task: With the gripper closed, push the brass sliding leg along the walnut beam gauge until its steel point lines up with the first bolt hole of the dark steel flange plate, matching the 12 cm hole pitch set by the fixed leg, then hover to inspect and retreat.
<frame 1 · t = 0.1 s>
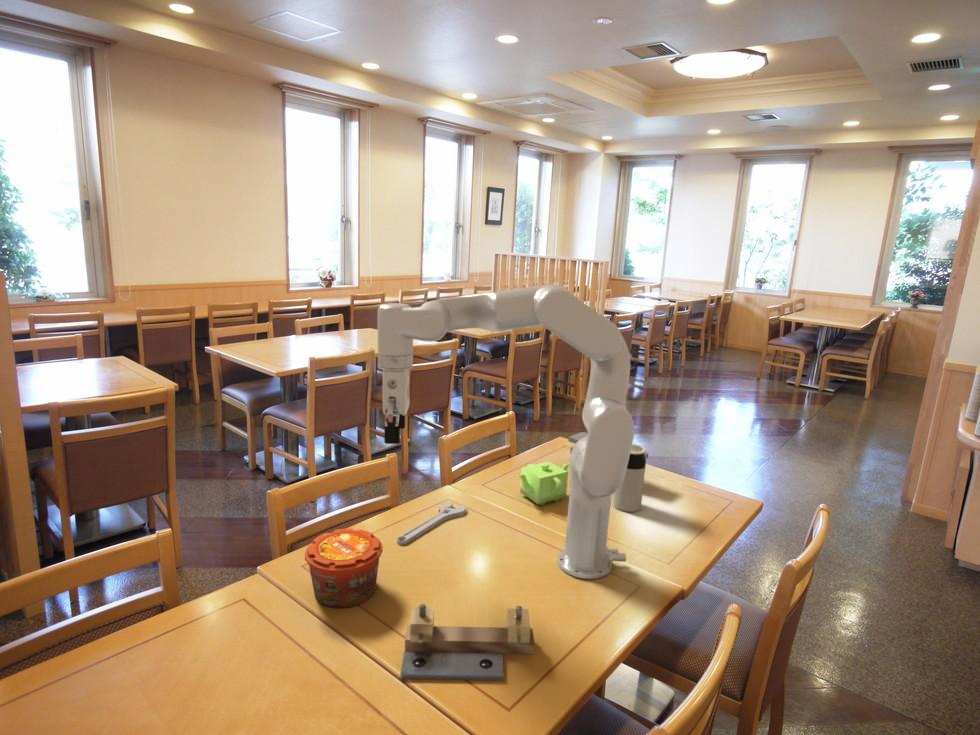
hand: (395, 435, 132), 31 cm above the table, tool pointing down, fingers open, 9 cm apart
sliding leg: (518, 624, 110), point 6 cm above the table, slide at -9.0 cm
food container: (345, 591, 127), on the table
teapot: (542, 498, 174), on the table
flange plate: (452, 668, 106), on the table
sharpening stone: (604, 476, 192), on the table
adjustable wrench: (429, 525, 157), on the table
beam gauge: (469, 645, 112), on the table
travel mug: (626, 506, 171), on the table
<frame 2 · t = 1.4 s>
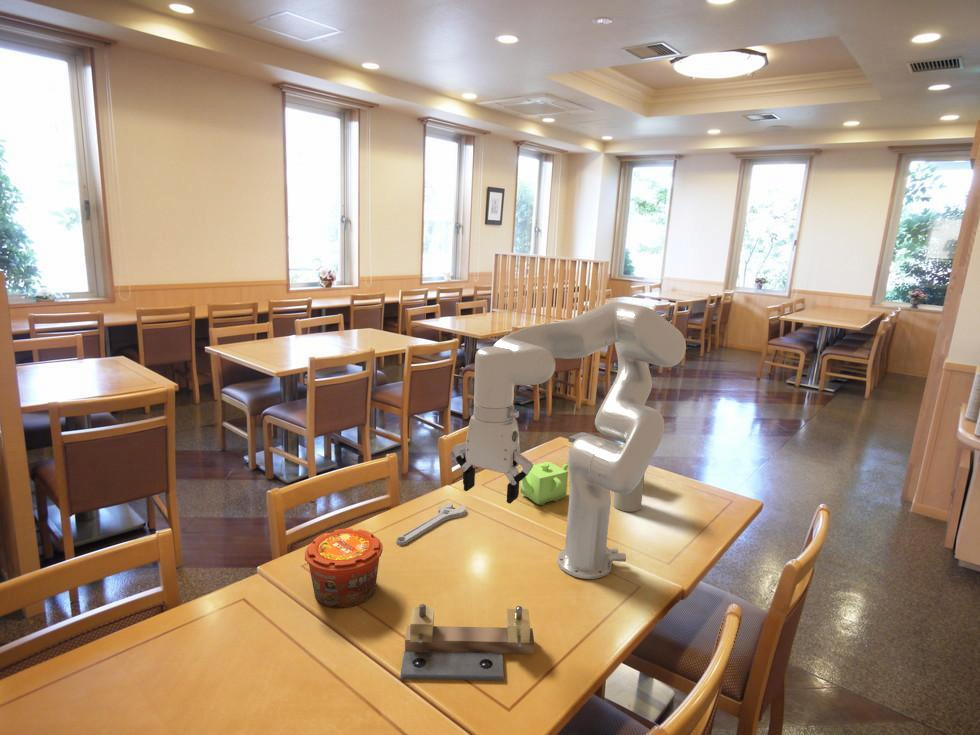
hand: (490, 494, 116), 26 cm above the table, tool pointing down, fingers open, 9 cm apart
nothing on the table moved.
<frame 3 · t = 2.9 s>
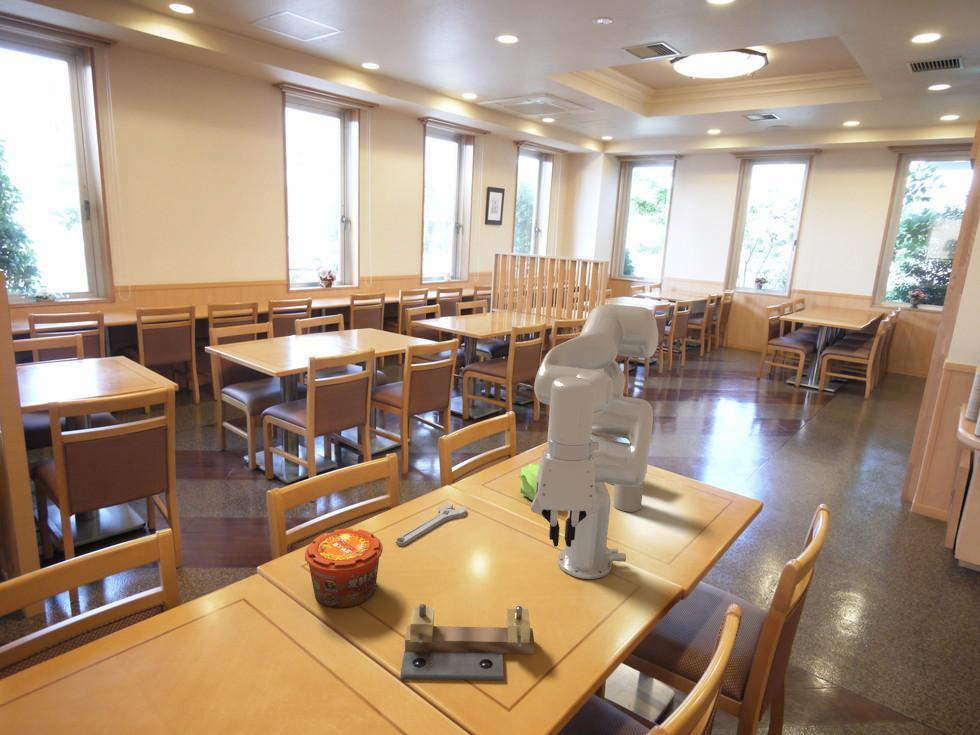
hand: (561, 542, 107), 22 cm above the table, tool pointing down, fingers closed
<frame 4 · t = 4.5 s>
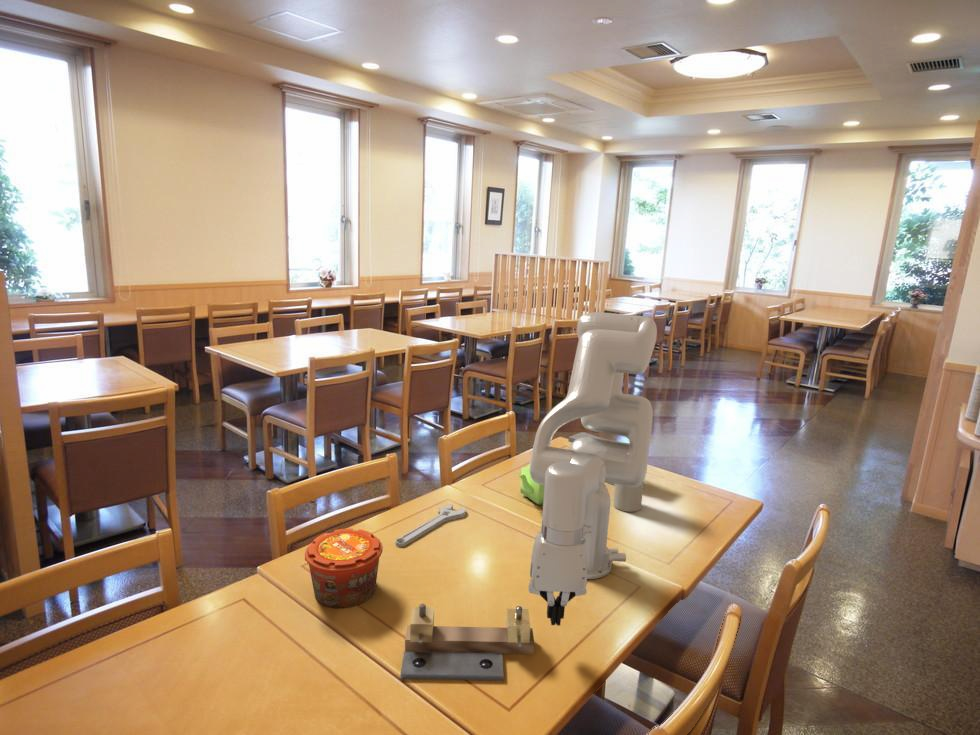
hand: (554, 620, 110), 6 cm above the table, tool pointing down, fingers closed
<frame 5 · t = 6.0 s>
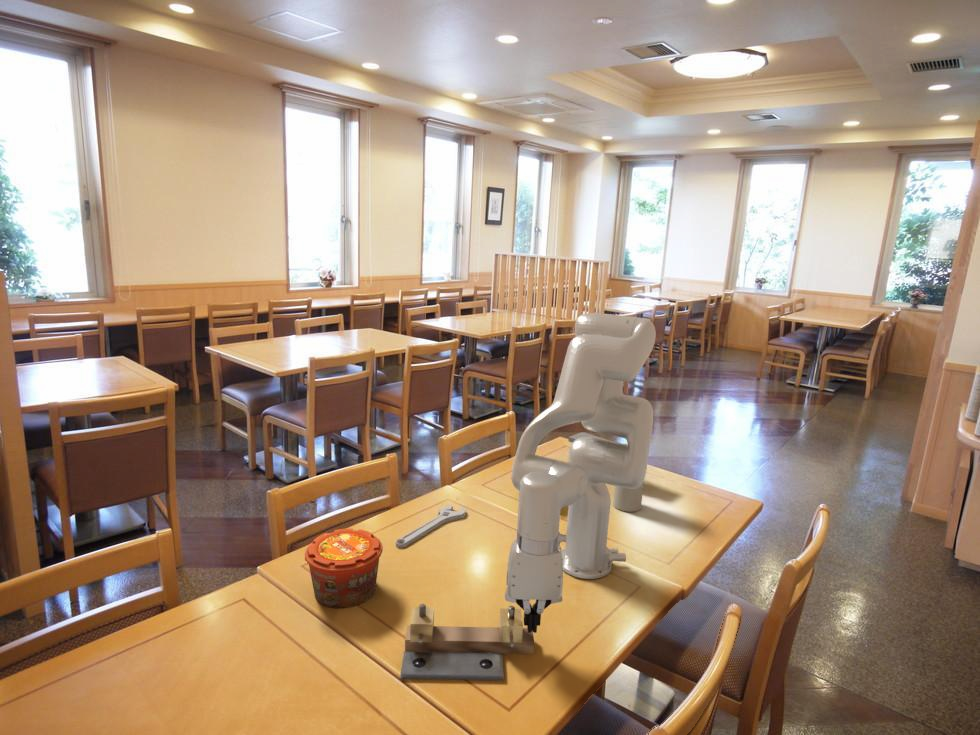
hand: (531, 627, 111), 4 cm above the table, tool pointing down, fingers closed
sliding leg: (511, 624, 110), point 6 cm above the table, slide at -7.6 cm, touching gripper
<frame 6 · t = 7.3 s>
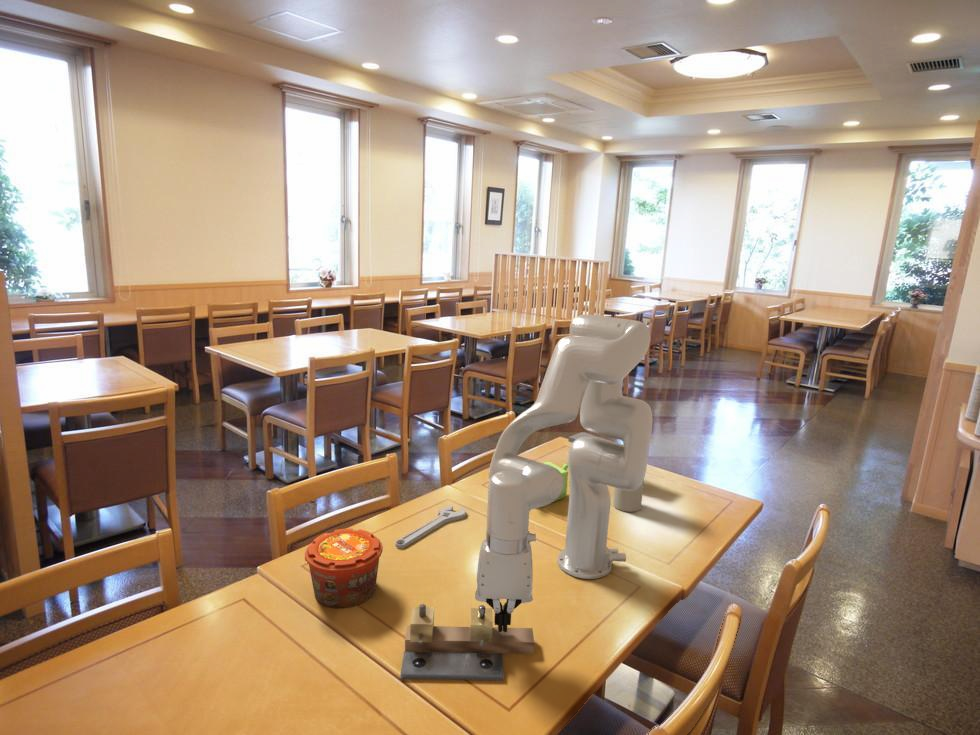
hand: (502, 627, 111), 4 cm above the table, tool pointing down, fingers closed
sliding leg: (481, 624, 110), point 6 cm above the table, slide at -2.1 cm, touching gripper
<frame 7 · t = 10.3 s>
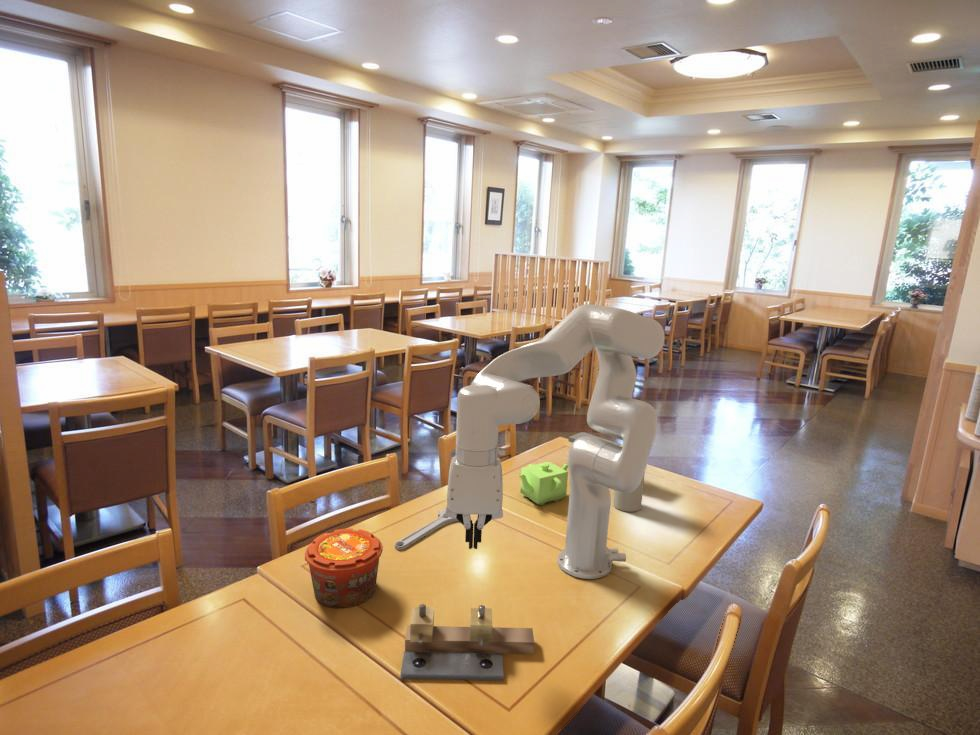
hand: (473, 544, 111), 19 cm above the table, tool pointing down, fingers closed
sliding leg: (481, 624, 110), point 6 cm above the table, slide at -2.0 cm
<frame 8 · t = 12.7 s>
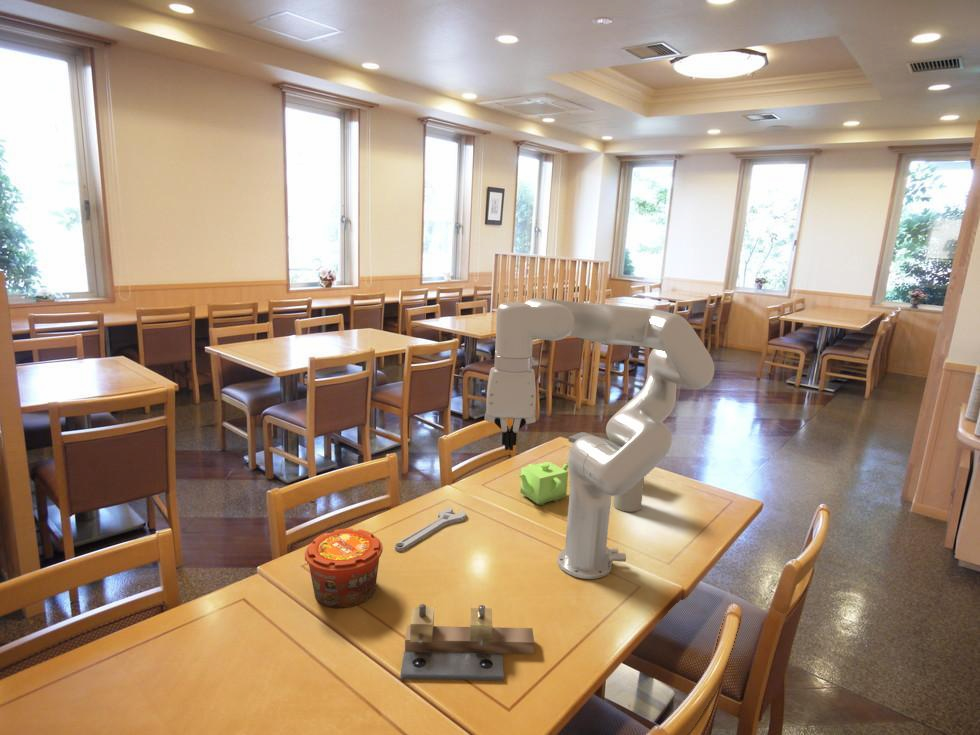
hand: (508, 447, 125), 32 cm above the table, tool pointing down, fingers closed
at the end: sliding leg slide at -2.0 cm; the gripper is holding nothing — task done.
